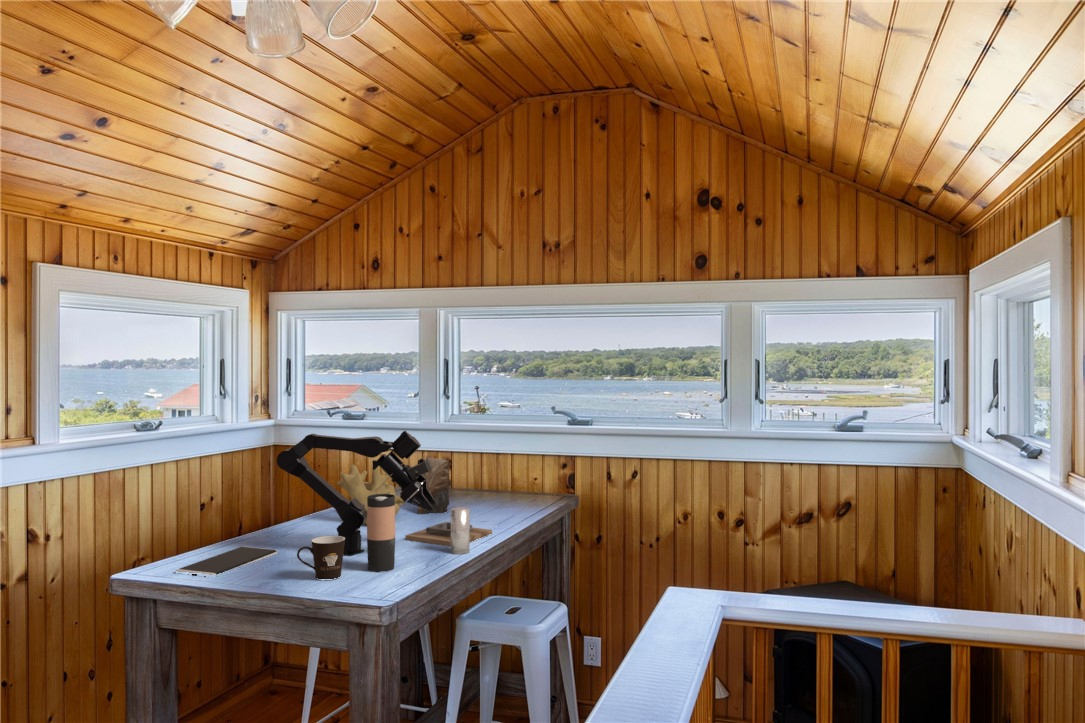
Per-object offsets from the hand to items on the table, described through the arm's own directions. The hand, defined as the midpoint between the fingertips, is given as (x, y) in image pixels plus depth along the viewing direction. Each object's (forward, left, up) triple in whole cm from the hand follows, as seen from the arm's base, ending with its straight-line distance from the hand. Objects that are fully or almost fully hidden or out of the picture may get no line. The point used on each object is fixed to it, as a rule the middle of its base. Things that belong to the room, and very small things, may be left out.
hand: (433, 506), depth 230 cm
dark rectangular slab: (-38, +43, -14) cm, 59 cm away
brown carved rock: (+49, +38, -14) cm, 64 cm away
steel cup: (+4, -7, -14) cm, 16 cm away
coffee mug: (-36, +9, -14) cm, 40 cm away
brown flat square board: (+18, +7, -13) cm, 23 cm away
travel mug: (-22, +1, -14) cm, 26 cm away
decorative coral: (+27, +46, -14) cm, 55 cm away
